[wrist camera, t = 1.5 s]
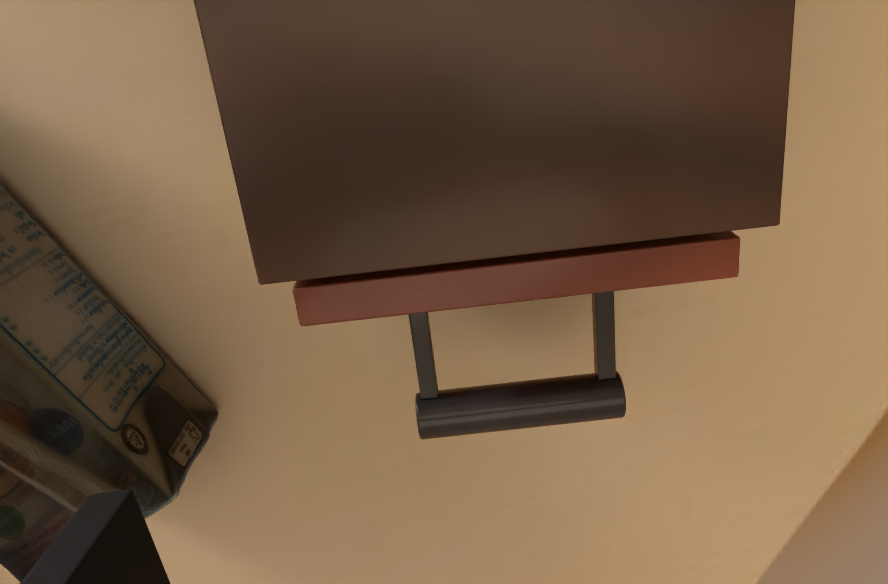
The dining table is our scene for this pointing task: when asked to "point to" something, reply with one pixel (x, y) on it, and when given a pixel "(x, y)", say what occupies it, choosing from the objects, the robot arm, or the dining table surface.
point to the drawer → (516, 283)
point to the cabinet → (494, 125)
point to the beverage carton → (79, 397)
